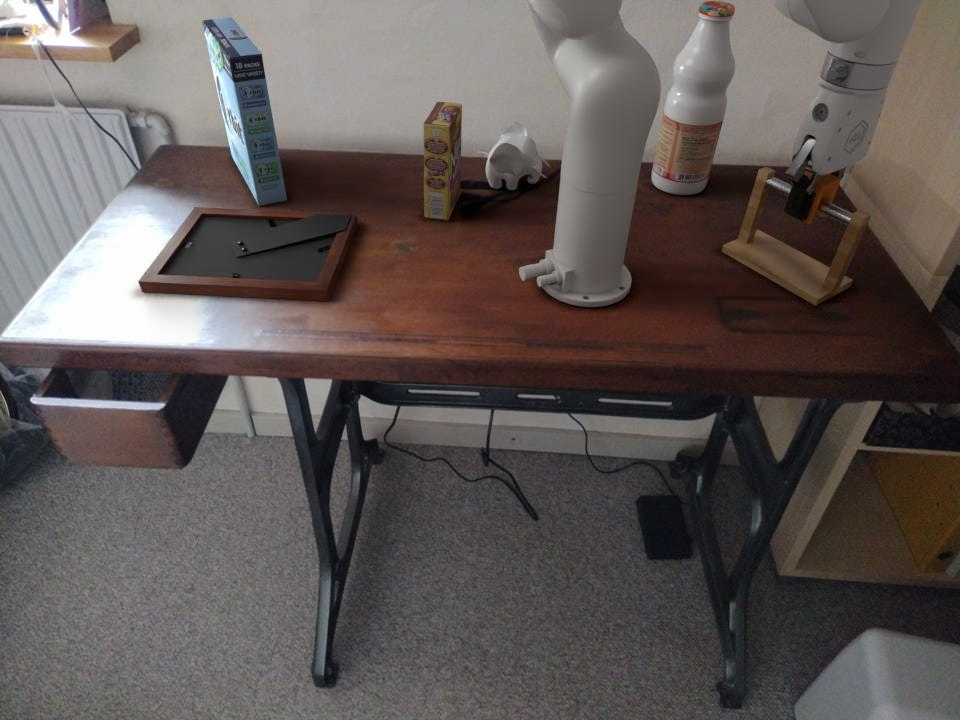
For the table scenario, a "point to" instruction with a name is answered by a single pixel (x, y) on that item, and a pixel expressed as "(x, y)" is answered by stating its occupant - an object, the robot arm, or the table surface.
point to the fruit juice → (695, 104)
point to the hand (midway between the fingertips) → (806, 210)
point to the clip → (822, 193)
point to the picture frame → (253, 254)
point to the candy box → (442, 160)
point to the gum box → (246, 108)
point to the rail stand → (788, 262)
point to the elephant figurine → (513, 158)
